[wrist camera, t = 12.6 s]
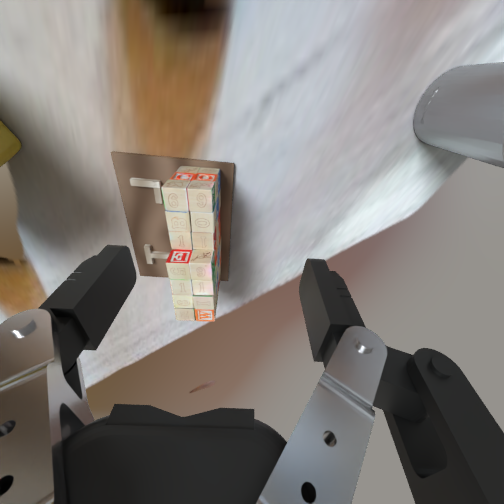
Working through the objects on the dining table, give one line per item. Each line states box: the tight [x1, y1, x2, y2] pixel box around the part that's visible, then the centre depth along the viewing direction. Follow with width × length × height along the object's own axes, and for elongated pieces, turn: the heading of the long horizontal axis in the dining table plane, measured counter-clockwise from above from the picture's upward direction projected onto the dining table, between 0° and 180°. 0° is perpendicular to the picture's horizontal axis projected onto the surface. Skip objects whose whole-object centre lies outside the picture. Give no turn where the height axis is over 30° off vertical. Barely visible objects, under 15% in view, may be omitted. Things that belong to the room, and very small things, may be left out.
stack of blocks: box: [161, 166, 221, 321], centre depth 36 cm, size 21×6×12 cm, turn 176°
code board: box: [111, 152, 234, 281], centre depth 41 cm, size 18×24×1 cm
